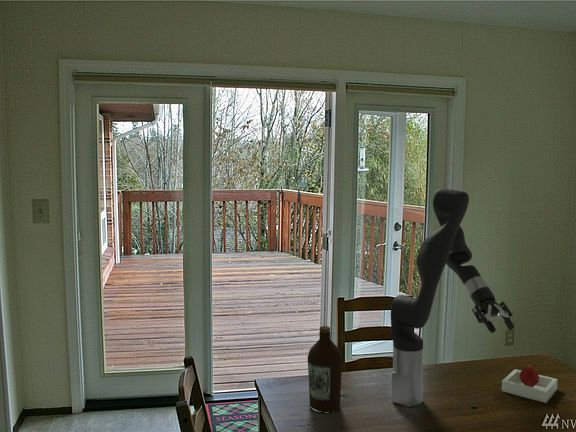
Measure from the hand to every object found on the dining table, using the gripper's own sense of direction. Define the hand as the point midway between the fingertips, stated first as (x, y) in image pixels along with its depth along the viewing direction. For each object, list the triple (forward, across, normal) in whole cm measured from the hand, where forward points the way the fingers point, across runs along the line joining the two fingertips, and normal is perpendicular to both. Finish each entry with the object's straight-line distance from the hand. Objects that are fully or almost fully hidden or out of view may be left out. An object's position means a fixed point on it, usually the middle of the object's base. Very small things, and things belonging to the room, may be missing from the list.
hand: (503, 330), depth 172 cm
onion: (+20, 0, +4) cm, 20 cm away
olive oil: (+8, -68, +16) cm, 70 cm away
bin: (+20, 0, +4) cm, 20 cm away
